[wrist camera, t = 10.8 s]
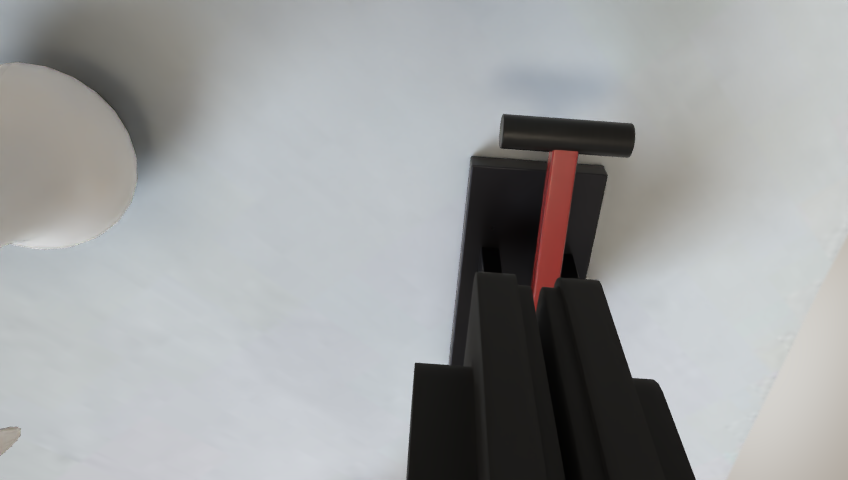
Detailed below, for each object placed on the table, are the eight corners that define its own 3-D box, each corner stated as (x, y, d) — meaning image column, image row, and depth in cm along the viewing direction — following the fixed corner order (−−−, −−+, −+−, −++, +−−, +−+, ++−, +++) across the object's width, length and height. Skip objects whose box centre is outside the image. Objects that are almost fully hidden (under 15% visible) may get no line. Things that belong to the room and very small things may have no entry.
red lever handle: (500, 109, 32) (505, 119, 29) (626, 118, 32) (640, 129, 29) (472, 371, 36) (475, 398, 34) (582, 379, 36) (592, 406, 34)
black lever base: (470, 155, 38) (477, 252, 29) (603, 165, 38) (648, 264, 29) (448, 363, 45) (448, 489, 36) (560, 371, 45) (587, 499, 36)
